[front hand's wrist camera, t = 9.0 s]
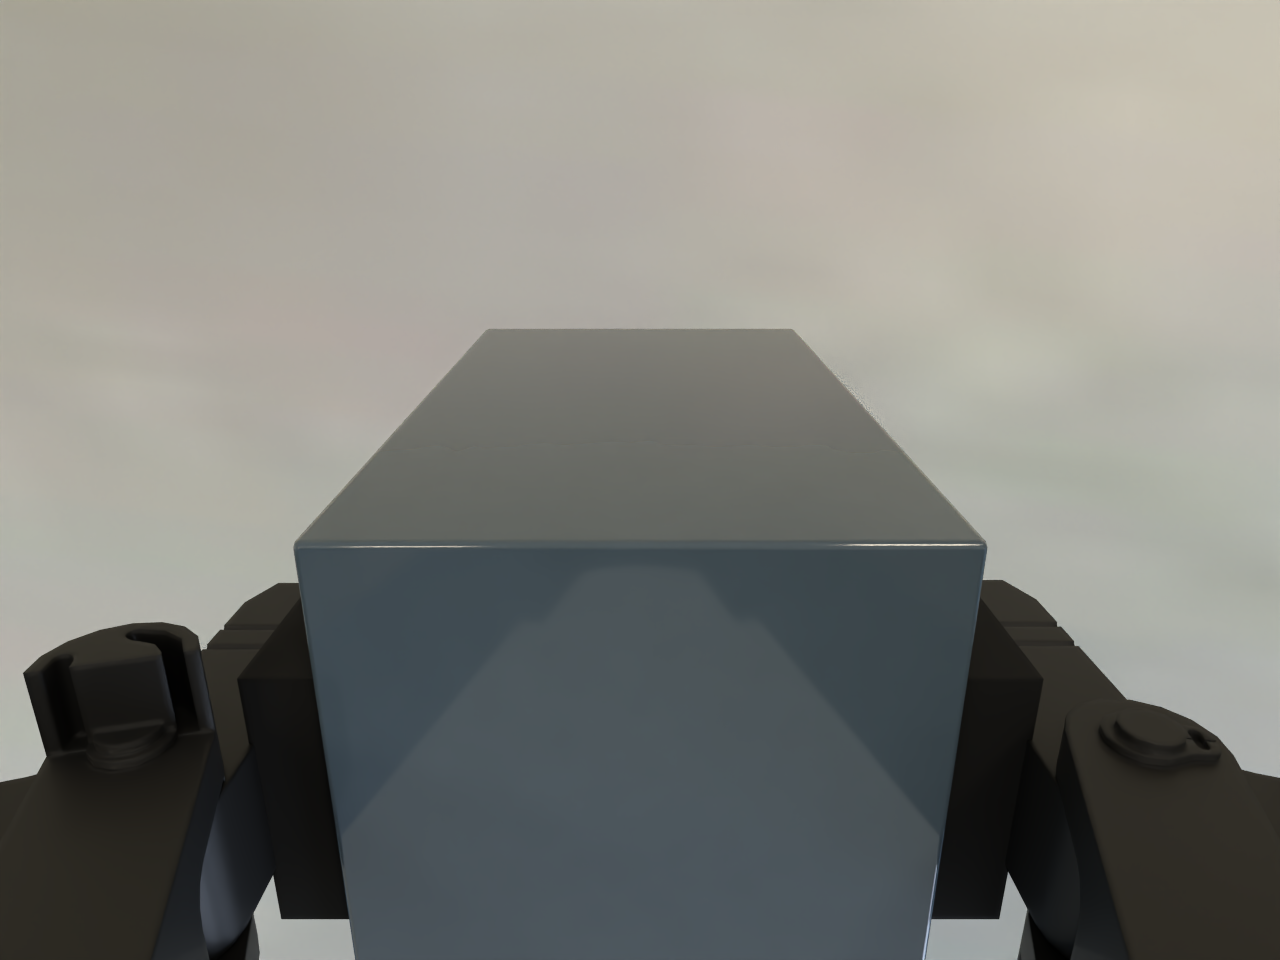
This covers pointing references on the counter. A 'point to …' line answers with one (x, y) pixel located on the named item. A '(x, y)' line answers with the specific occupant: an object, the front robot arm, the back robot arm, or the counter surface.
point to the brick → (640, 659)
